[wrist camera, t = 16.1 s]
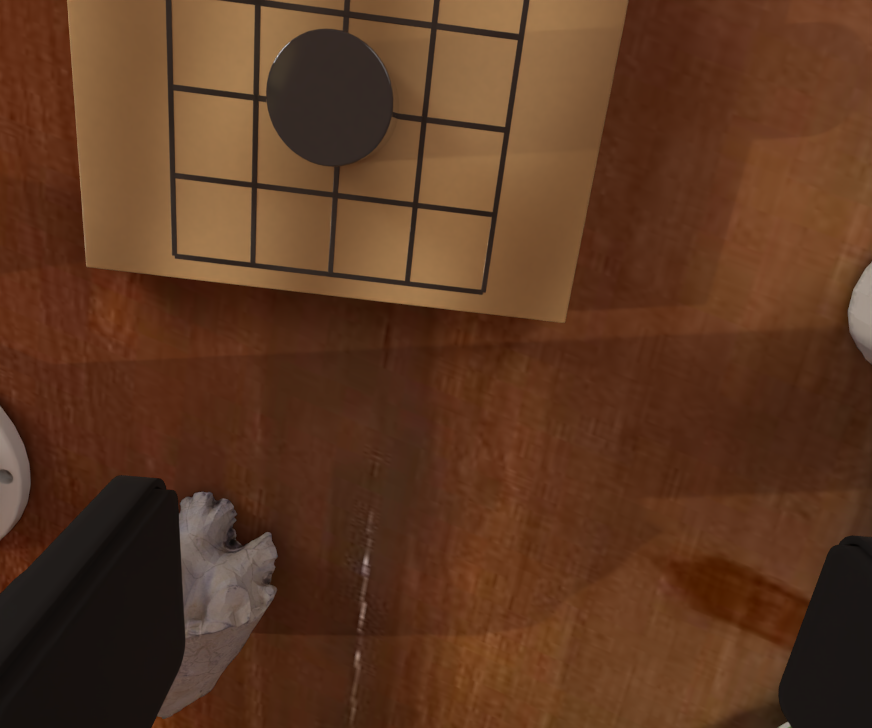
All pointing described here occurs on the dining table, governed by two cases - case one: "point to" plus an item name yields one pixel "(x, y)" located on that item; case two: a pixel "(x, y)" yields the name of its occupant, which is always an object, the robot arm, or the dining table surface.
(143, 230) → the game board
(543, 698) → the dining table surface
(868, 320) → the coffee cup
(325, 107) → the shiny metal cylinder
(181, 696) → the stone
